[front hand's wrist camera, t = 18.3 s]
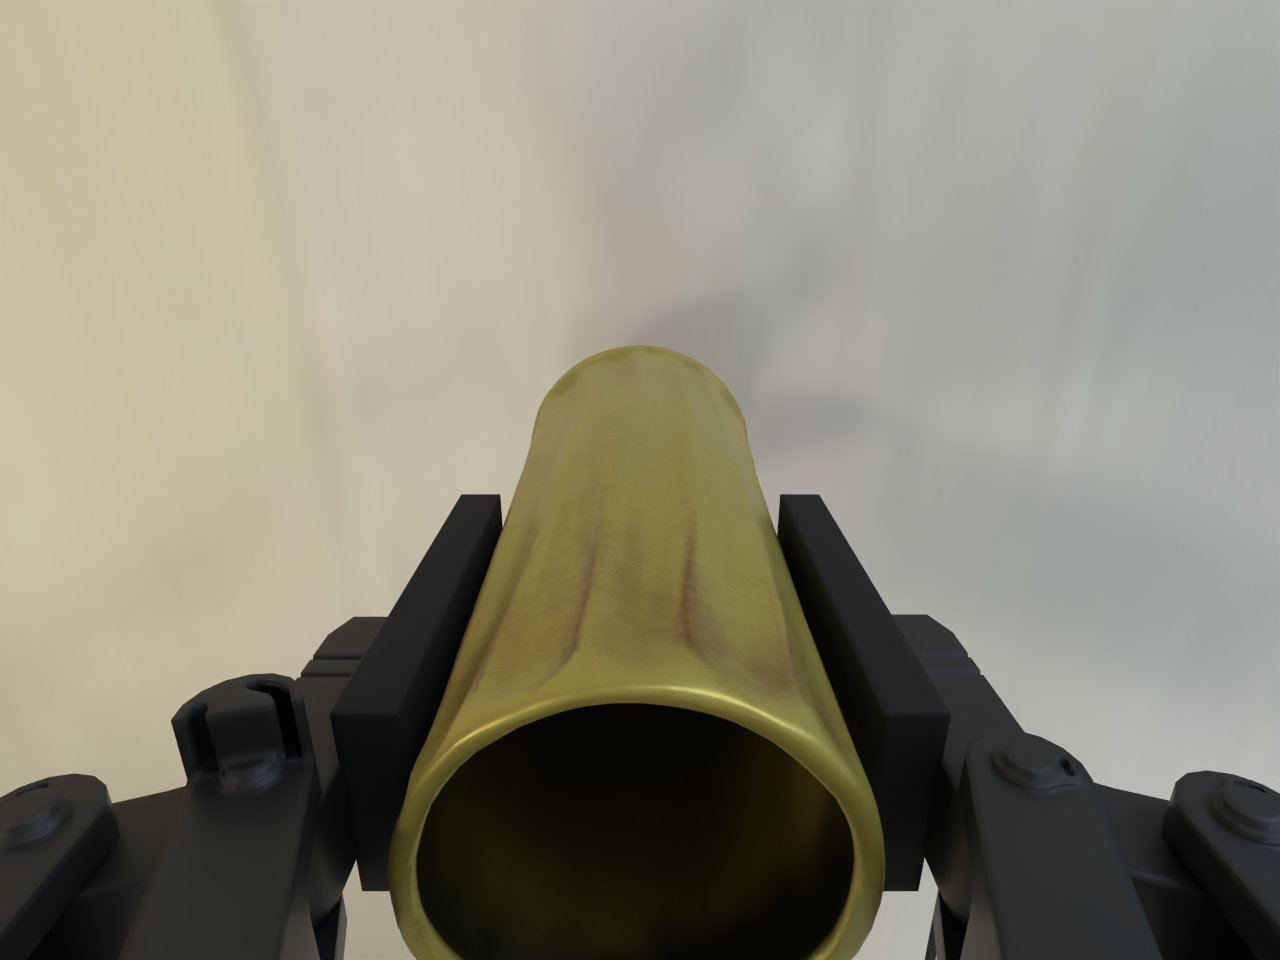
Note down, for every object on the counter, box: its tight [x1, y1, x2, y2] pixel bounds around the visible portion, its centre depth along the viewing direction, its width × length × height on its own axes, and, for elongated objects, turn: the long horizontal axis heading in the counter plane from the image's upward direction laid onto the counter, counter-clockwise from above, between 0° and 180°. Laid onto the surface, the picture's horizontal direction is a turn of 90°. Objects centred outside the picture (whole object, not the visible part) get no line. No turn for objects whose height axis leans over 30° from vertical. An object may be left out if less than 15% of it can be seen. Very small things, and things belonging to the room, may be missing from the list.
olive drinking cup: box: [388, 345, 885, 960], centre depth 14 cm, size 6×6×14 cm
